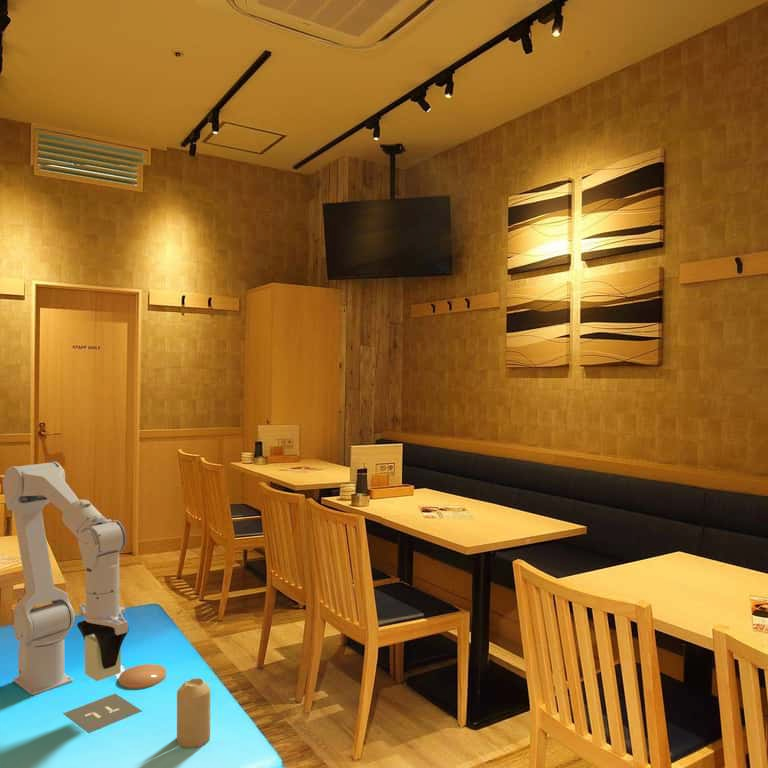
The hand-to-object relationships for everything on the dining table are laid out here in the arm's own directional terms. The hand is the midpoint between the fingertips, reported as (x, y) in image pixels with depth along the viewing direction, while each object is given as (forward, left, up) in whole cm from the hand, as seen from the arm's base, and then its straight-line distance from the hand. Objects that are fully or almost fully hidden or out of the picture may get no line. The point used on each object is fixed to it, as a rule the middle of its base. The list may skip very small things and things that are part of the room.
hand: (102, 662), depth 123 cm
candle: (+20, +6, -10) cm, 23 cm away
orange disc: (-7, +12, -9) cm, 17 cm away
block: (0, 0, -2) cm, 2 cm away
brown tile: (0, 0, -9) cm, 9 cm away
